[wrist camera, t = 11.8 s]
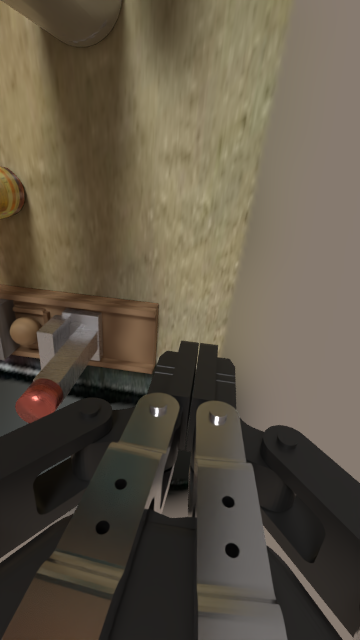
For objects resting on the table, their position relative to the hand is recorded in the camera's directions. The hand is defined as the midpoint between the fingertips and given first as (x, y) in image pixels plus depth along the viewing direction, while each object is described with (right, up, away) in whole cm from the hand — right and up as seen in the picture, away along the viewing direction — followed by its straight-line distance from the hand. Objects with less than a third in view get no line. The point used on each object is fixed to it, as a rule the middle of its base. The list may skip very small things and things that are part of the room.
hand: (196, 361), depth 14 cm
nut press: (-16, +1, +37) cm, 40 cm away
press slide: (-15, 0, +35) cm, 38 cm away
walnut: (-22, +1, +36) cm, 42 cm away
